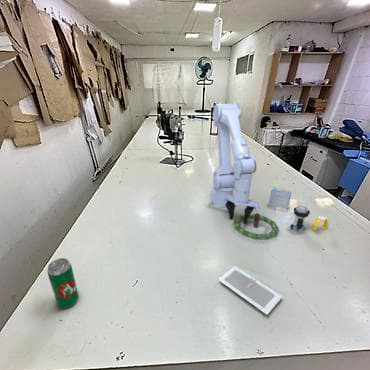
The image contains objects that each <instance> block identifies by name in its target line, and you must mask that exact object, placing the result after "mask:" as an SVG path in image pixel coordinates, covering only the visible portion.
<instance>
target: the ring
mask: <svg viewBox="0 0 370 370" xmlns="http://www.w3.org/2000/svg"><path fill="white" fill-rule="evenodd" d="M255 214H256V213H251V214H250V216H249V218H248V220H250V219H251V220H252V219H253V220H254V218H255ZM244 216H245V214H242V215H238V216H237V217H236V218H235V219H234V221H233V223H232V224H233V227H234V228H233V229H234V230H236V231H237V232H238V233H239V234H240V235H242V236H243V237H246V238H250V239H252V240H260V241H267V240H272V239H275V238H276V237H278V233H280V228H279V226H278V225H277V222H275V221H274V220H272V219H270V218H269V217H267V216H264V215H261V214H260V219H259V221H262V222H264V223H266V224H268V225H269V226H270V228H271V231H270V232H267V233H254V232H251V231H248V230H246V229H244V228H243V227H242V226H241V223H242V222H244Z"/></svg>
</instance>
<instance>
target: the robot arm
mask: <svg viewBox="0 0 370 370" xmlns="http://www.w3.org/2000/svg"><path fill="white" fill-rule="evenodd" d="M212 115H213V125H214V127H216V129H217V143H218V145H217V146H218V162H219V167H217V168H216V169H215V170H214V171H213V178H212V184H213V186H212V187H211V190H210V197H209V205H214V206H216V207H219V208H221V209H227V211H228V215H229V220H231V221H232V220H233V219H234V217H235V208H236V206H238V207H240V206H242V207H243V206H244V207H245V208H244V210H243V211H244V215H245V216H244V220H243V224H244V225H246V224H247V223H248V220H249V219H248V218H249V216H250V214H252V212H253V211H254V210H255V211H259V210H260V209H261V203H259V202H256V201H254V200H251V199H250V193H251V186H252V178H253V174H255V173H256V171H257V168H258V167H257V160H256V158H255V157H254V156H253V154H251V152H250V148H249V145H248V142H247V140H246V138H245V139H244V138H243V133H242V127H241V122H240V121H241V117H242V106H241V104H240V103H237V102H236V103H216V104H215V105H214V107H213V112H212ZM231 139H232V143H231ZM231 151H232V152H231ZM232 154H233V158H234V159H233V160H234V163H233V166H232Z"/></svg>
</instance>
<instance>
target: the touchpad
mask: <svg viewBox="0 0 370 370" xmlns="http://www.w3.org/2000/svg"><path fill="white" fill-rule="evenodd" d="M217 280H218V281H219V282H221V283H222V284H224V285H225V286H226V287H228V288H229V289H230V290H232V291H233V292H234V293H236V294H237V295H239V296H240V297H241V298H243V299H244V300H246V302H248V303H250V304H251V305H253V306H254V307H255V308H257V309H258V310H259V311H261V312H263V313H264V314H265V315H269V313H270V312H271V311H272V310H273V309H274V307H275V306H276V305H277V304H278V303H279V301H281V299H283V295H282V294H280V293H279V292H277V291H276V290H274V289H272V288H270V287H269V286H267V285H266V284H264V283H263V282H261V281H260V280H258V279H256V278H255V277H253V276H252V275H250V274H249V273H246V272H245V271H244V270H242V269H240V268H238V267H237V266H236V265H234V266H233V267H231V268H230V269H229V270H227V271H226V272H225V273H223V275H221V276H220V277H219V278H218V279H217Z"/></svg>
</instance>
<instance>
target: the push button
mask: <svg viewBox="0 0 370 370" xmlns="http://www.w3.org/2000/svg"><path fill="white" fill-rule="evenodd" d="M293 214H294V216H295V217H294V221H293V223H291V224H290V226H289V229H290V230H292V231H293V232H295V231H298V232H301V231H302V230H305V228H307V225H304V224H305V219H306V218H308V217H309V215H310V214H311V211H310V210H309V209H308V208H307V206H305V205H298V206H296V207H294V208H293Z"/></svg>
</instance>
